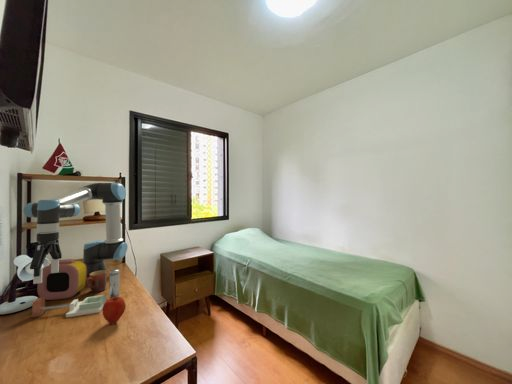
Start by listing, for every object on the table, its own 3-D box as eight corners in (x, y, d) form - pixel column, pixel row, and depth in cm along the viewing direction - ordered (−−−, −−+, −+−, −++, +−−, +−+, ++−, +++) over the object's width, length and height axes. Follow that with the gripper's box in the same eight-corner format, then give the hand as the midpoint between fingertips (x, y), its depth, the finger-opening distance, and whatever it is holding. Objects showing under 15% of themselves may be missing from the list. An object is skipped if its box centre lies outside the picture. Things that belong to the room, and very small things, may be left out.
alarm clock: (35, 302, 111) (36, 264, 111) (50, 292, 121) (52, 258, 122) (76, 298, 114) (77, 262, 115) (87, 290, 125) (88, 256, 126)
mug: (99, 286, 130) (99, 269, 130) (111, 288, 128) (111, 270, 128) (79, 295, 118) (79, 276, 118) (92, 297, 116) (92, 278, 117)
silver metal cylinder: (110, 297, 117) (111, 269, 117) (119, 295, 118) (120, 268, 119) (107, 300, 112) (108, 272, 113) (117, 299, 114) (118, 271, 114)
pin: (75, 310, 101) (75, 296, 102) (32, 317, 96) (32, 301, 96) (78, 307, 105) (78, 292, 105) (36, 313, 99) (37, 298, 99)
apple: (129, 318, 96) (130, 294, 96) (113, 330, 88) (113, 303, 88) (114, 316, 98) (115, 292, 99) (96, 326, 90) (97, 301, 90)
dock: (99, 312, 101) (100, 303, 101) (65, 317, 97) (65, 308, 97) (107, 300, 113) (107, 292, 113) (77, 305, 108) (77, 296, 108)
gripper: (52, 228, 111) (51, 269, 110) (18, 237, 87) (17, 289, 87) (70, 228, 113) (69, 268, 113) (42, 236, 90) (40, 287, 89)
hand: (46, 277), depth 100 cm, fingers open, 13 cm apart
